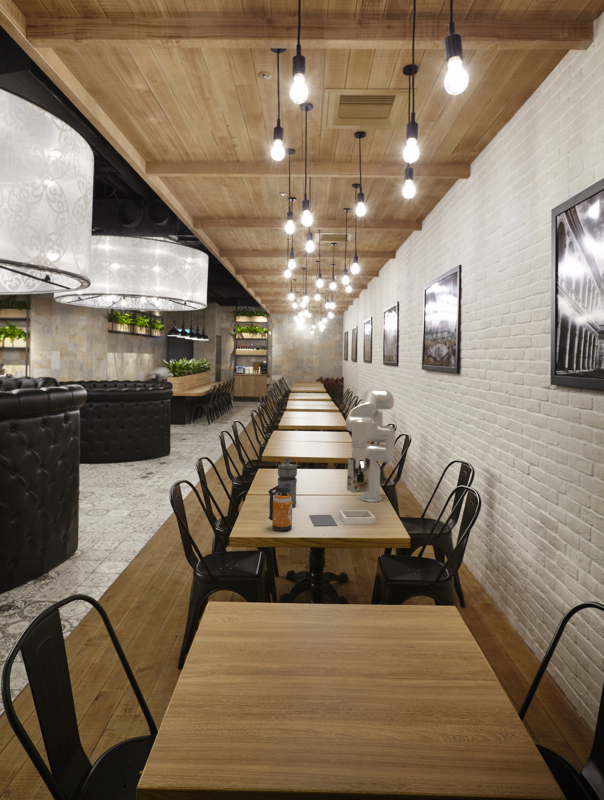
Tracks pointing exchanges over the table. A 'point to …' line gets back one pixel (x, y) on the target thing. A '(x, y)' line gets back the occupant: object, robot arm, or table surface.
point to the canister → (280, 508)
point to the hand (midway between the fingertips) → (358, 479)
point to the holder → (357, 517)
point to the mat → (323, 520)
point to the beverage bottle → (288, 478)
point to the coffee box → (352, 477)
